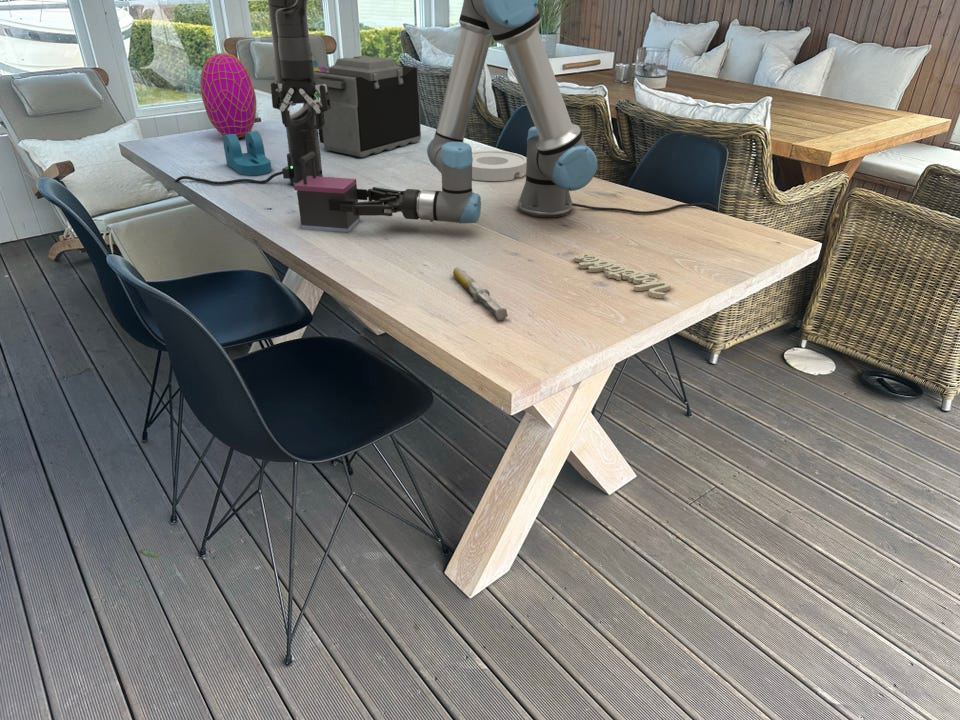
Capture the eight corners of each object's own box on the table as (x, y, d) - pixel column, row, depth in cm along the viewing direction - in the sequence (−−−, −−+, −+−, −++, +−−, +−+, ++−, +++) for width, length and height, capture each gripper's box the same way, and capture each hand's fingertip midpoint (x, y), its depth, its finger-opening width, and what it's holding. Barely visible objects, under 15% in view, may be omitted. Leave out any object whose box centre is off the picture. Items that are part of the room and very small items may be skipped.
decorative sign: (686, 282, 150) (660, 295, 144) (686, 286, 150) (659, 300, 144) (592, 249, 166) (565, 259, 160) (592, 253, 167) (565, 263, 161)
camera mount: (227, 164, 233) (221, 132, 227) (257, 160, 238) (252, 129, 233) (244, 176, 220) (239, 143, 215) (276, 172, 225) (271, 139, 220)
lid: (294, 190, 175) (290, 158, 171) (308, 180, 183) (305, 149, 179) (344, 193, 173) (341, 161, 169) (356, 183, 181) (354, 152, 176)
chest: (301, 228, 180) (296, 190, 175) (315, 217, 188) (310, 180, 183) (347, 232, 178) (344, 194, 173) (359, 220, 186) (356, 183, 181)
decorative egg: (226, 145, 255) (211, 58, 240) (200, 137, 266) (184, 53, 251) (271, 137, 268) (259, 54, 252) (244, 129, 279) (231, 49, 263)
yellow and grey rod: (449, 274, 155) (449, 263, 153) (465, 272, 156) (464, 260, 154) (490, 323, 135) (491, 310, 133) (508, 319, 136) (508, 307, 134)
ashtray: (459, 161, 239) (459, 150, 237) (525, 163, 239) (526, 151, 237) (455, 180, 219) (455, 167, 217) (527, 181, 219) (528, 169, 217)
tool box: (383, 133, 276) (378, 52, 261) (425, 141, 265) (422, 56, 250) (314, 150, 251) (304, 61, 235) (358, 160, 240) (350, 67, 224)
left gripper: (260, 58, 161) (270, 129, 169) (318, 60, 158) (325, 132, 167) (275, 54, 167) (283, 123, 175) (330, 56, 165) (336, 126, 173)
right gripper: (408, 233, 168) (322, 226, 171) (431, 206, 186) (352, 200, 190) (407, 203, 164) (318, 197, 168) (430, 178, 183) (350, 173, 186)
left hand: (304, 127), depth 171 cm, fingers open, 8 cm apart
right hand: (336, 198), depth 179 cm, fingers closed on chest, 9 cm apart
